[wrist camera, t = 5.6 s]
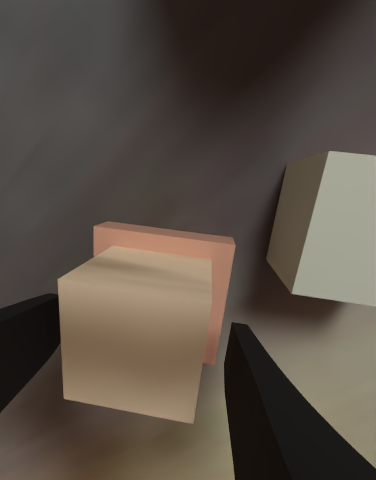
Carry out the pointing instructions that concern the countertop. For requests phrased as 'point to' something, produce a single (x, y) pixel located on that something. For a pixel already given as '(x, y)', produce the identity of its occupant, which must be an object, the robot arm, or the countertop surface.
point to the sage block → (327, 228)
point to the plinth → (184, 245)
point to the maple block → (136, 331)
